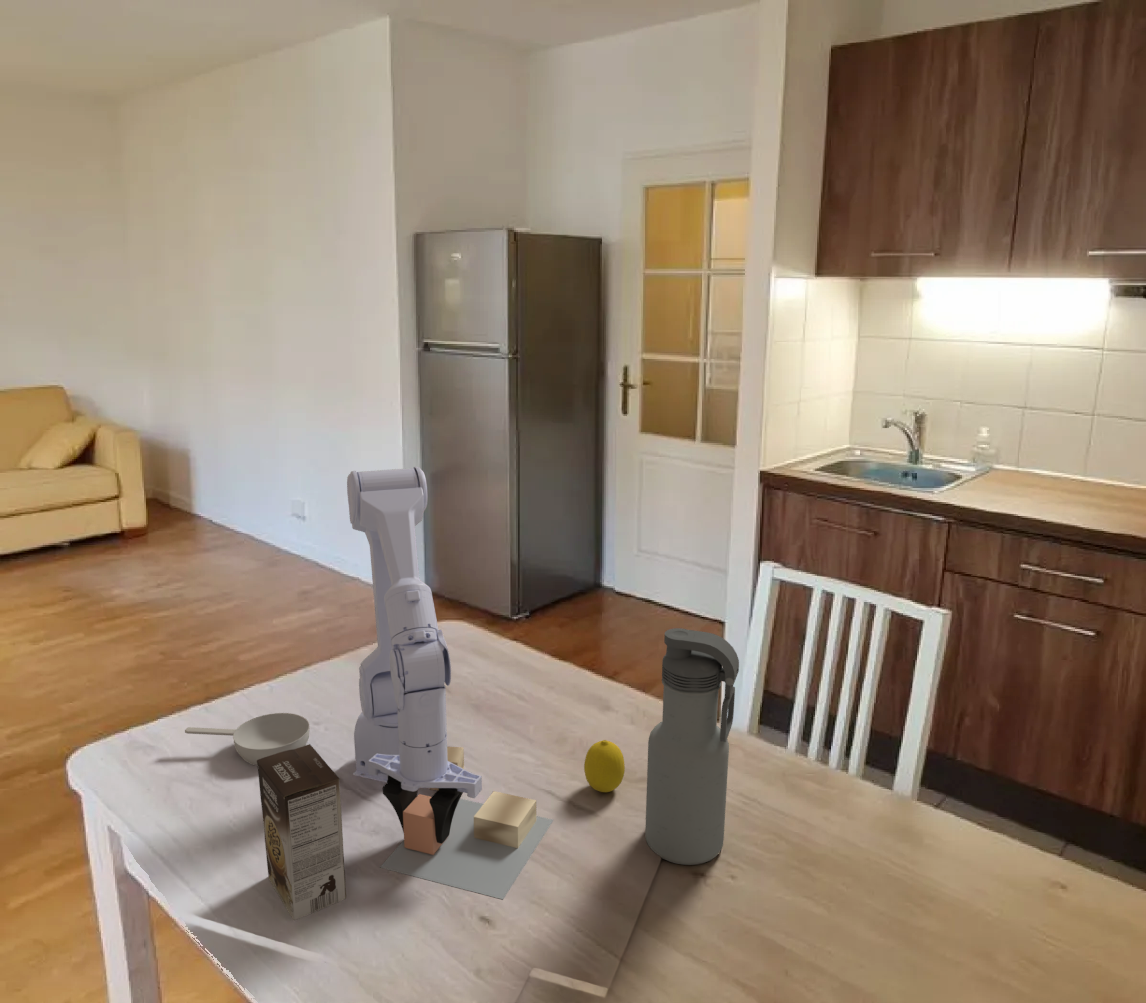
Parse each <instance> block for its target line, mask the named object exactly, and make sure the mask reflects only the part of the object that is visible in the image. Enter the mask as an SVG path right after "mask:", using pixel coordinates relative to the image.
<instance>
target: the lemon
mask: <svg viewBox="0 0 1146 1003" xmlns="http://www.w3.org/2000/svg"><path fill="white" fill-rule="evenodd" d="M584 759H585V760H584V765H583V770H584V775H585V779H586V782H587V783H588V785H589V786H590V787H591V788H592V789H593V790H595V791H597V792H599V793H609V792H612V791H614V790H616V789H617V788H618V787H619V786H620V785H621V784H622V781H623V780H624V776H625V772H626V770H625V769H626V767H625V765H626V764H625V759H624V754H623V752H622V751H621V749H620V747H619V746H618V745H617V744H616V743H614V742H612V741H609V740H607V739H603V740H598V741H596V742H595V743H593V744H592V745H591V746H590V747H589V749H588V751H587V752H586V756H585V758H584Z"/></svg>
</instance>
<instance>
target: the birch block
mask: <svg viewBox="0 0 1146 1003" xmlns="http://www.w3.org/2000/svg"><path fill="white" fill-rule="evenodd" d="M464 749H465V748H464V746H463V747H462V746H447V757H448V761H449V762H451V763H453V764H455V765H457V766H459V767H461V768H463V769H465V761H464V760H465V752H464ZM429 790H431V791H433V790H435V791H438V790H439V788H429Z"/></svg>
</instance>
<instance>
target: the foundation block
mask: <svg viewBox="0 0 1146 1003" xmlns="http://www.w3.org/2000/svg"><path fill="white" fill-rule="evenodd" d="M482 804H483V805H482V807H481V808H480V809H479V811H478V812H477V813H476V814H475V816H474V838H477V839H481V840H486V841H490V842H494V843H498V844H502V845H507V846H511V847H515V848H519V846H520V845H521V843H522V842H523V840H524V839H525V837H526V836H527V834H528V833H529V831H530V830H531V828H532V827H533V825H534V824H535V822H536V816H537V800H536V799H533V798H528V797H527V798H526V797H523V796H519V795H513V794H509V793H505V792H500V791H495V790H493V791H492V793H491V794H490V795H489V796H488V798H487V799H486V800H485V802H483V803H482Z"/></svg>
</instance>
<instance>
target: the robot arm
mask: <svg viewBox="0 0 1146 1003" xmlns="http://www.w3.org/2000/svg"><path fill="white" fill-rule="evenodd" d="M346 478H347V479H346V480H347V481H346V490H347V501H348V512H349V522H350V524H351V528H352V529H353V530H355V531H359V532H362V533H365V537H366V539H367V542H368V545H369V554H370V565H371V566H370V567H371V577H372V589H373V601H374V602H373V604H374V617H375V628H376V630H375V631H376V640H377V642H376V643H377V646H376V648H375V649H374V650H373V651H372V652H371V653H369V655H368V656H366V657H365V658H364V659H363V660H362V661H361V663H360V666H359V668H358V670H359V679H358V690H359V693H358V694H359V701H360V702H359V703H360V707H361V712H360V714H359V716H358V717H357V719H356V722H355V726H354V730H353V739H354V740H353V742H354V743H353V744H354V760H355V771H354V772H353V773H352V774H353V776H356V777H361V778H365V779H369V780H375V781H378V782H382V783H385V784H384V785H383V787H382V794H383V796H384V797H385V798H386V799H387V801H388V802H389V803H390V804H391V806H392V807H393V810H394V811H395V813H396V816H397V817H398V820H399V823H400V826H401V828H402V832H403V833H404V826H403V811H404V810H405V809H406V808H407V807H408V806H409V805H410V804H411V803H412V801H413V800H414V799H415V798H416V797H417V796H418V790H419V789H430V788H439V790H436V791H435V793H434V794H433V795H432V796H430V797H431V798H430V800H429V802H430V805H431V807H432V810H433V813H434V818H435V833H436V840H437V843H441V844H442V843H443V842H444V841H445V840H446V838H447V837H448V836H449V834H450V828H451V823H452V819H453V815H454V812H455V809H456V807H457V804H458V802H459V800H460V799H462V798H461V797H462V795H463V794H466V795H467V797H468V798H472V799H476V798H477V797H478V796H479V795H480V793H481V791H482V790H483V779H482V778H483V777H482V775H480V774H475V773H473V772H470V771H468V770H467V769H465V768H464V769H463V768H461V767H459V766H457V765H455V764H453V763H451V762H449V761H448V757H447V747H448V732H447V731H448V726H447V697H446V695H447V694H446V686H448V687H449V686H450V685H451V683H452V682H451V681H452V662H451V656H450V652H449V647H448V645H447V641H446V639H445V636H444V633H443V630H442V629H439V624H438V620H437V614H436V609H435V603H434V599H433V593H432V589H431V587H430V586H429V585H427V583H425V582H424V581H422V580H421V579H420V572H419V570H420V569H419V561H418V560H419V558H418V550H417V549H418V548H417V538H416V536H417V535H416V526H418V525H419V523H421V522H423V517H424V512H425V510H426V509H427V506H428V484H427V478H426V475H425V472H424V471H423V470H422V469H421V467H420V466H413V467H409V468H395V469H381V470H379V469H378V470H365V471H364V470H363V471H357V470H352V471H350V473H348V476H347V477H346Z"/></svg>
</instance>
